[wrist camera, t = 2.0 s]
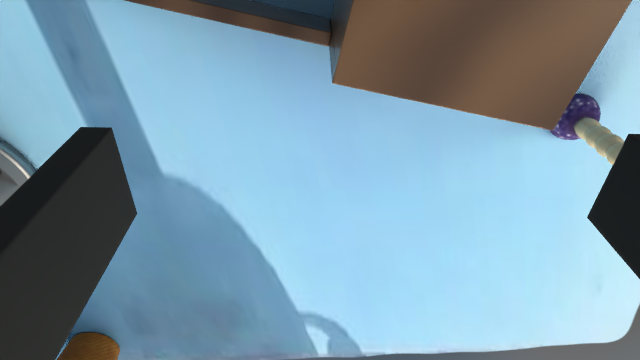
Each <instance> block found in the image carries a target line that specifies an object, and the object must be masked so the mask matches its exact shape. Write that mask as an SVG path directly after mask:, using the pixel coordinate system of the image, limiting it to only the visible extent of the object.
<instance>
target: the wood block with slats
mask: <svg viewBox="0 0 640 360" xmlns="http://www.w3.org/2000/svg"><path fill="white" fill-rule="evenodd" d="M125 1H129V2H134V3H138V4H143V5H147V6H151V7H156V8H160V9H165V10H169V11H174V12H178V13H182V14H187V15H191V16H196V17H200V18H204V19H209V20H213V21H218V22H222V23H227V24H231V25H235V26H240V27H244V28H249V29H253V30H258V31H262V32H266V33H271V34H275V35H280V36H284V37H289V38H293V39H297V40H302V41H306V42H311V43H315V44H319V45H324V46H329V50H330V61H331V73H332V83H333V84H338V85H342V86H347V87H352V88H356V89H361V90H366V91H370V92H375V93H380V94H384V95H389V96H394V97H398V98H403V99H408V100H412V101H417V102H422V103H426V104H431V105H436V106H440V107H445V108H450V109H454V110H459V111H464V112H468V113H473V114H478V115H482V116H487V117H492V118H496V119H501V120H506V121H510V122H515V123H520V124H524V125H529V126H534V127H538V128H543V129H548V130H553V129H554V128H555V126H556V124H557V123H558V121H559V120H560V118H561V116H562V115H563V113H564V111H565V110H566V108H567V106H568V105H569V103H570V101H571V100H572V98H573V96H574V95H575V93H576V92H577V90H578V88H579V87H580V85H581V83H582V82H583V80H584V78H585V77H586V75H587V73H588V72H589V70H590V69H591V67H592V65H593V64H594V62H595V60H596V59H597V57H598V55H599V54H600V52H601V50H602V49H603V47H604V46H605V44H606V42H607V41H608V39H609V37H610V36H611V34H612V32H613V31H614V29H615V27H616V26H617V24H618V23H619V21H620V19H621V18H622V16H623V14H624V13H625V11H626V9H627V8H628V6H629V4H630V3H631V1H632V0H335V2H334V6H333V11H332V15H331V20H330V19H328V18H323V17H319V16H315V15H311V14H306V13H302V12H298V11H294V10H289V9H285V8H281V7H277V6H272V5H268V4H264V3H260V2H255V1H251V0H125Z"/></svg>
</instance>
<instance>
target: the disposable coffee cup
mask: <svg viewBox="0 0 640 360" xmlns="http://www.w3.org/2000/svg"><path fill="white" fill-rule="evenodd" d="M119 352H120V349H119V346H118V344H117V343H116V342H115V341H114V340H112V339H111V338H109V337H107V336H105V335H102V334H98V333H91V332H85V333H80V334H77V335H75V336H74V337H73V338H72V339H71V341H70V342H69V343H68V345H67V346H66V348H65V349H64V350H63V352H62V353H61V354H60V356H59V357H58V359H57V360H117V359H118V355H119Z"/></svg>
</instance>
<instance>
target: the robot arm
mask: <svg viewBox="0 0 640 360" xmlns="http://www.w3.org/2000/svg"><path fill="white" fill-rule="evenodd" d="M136 215H137V212H136V208H135V205H134V202H133V198H132V195H131V191H130V188H129V185H128V181H127V178H126V174H125V171H124V168H123V164H122V161H121V158H120V154H119V151H118V147H117V144H116V141H115V137H114V134H113V130H112V128H100V127H80V128H79V129H78V130H77V131H76V132H75V133H74V134H73V135H72V136H71V137H70V138H69V139H68V140H67V141H66V142H65V143H64V144H63V145H62V146H61V147H60V148H59V149H58V150H57V151H56V152H55V153H54V154H53V155H52V156H51V157H50V158H49V159H48V160H47V161H46V162H45V163H44V164H43V165H42V166H41V167H40V168H39V169H38V170H36V169H35V168H34V167H33V166H32V164H31V163H30V162H29V161H28V160H27V159H26V158H25V157H24V156H23V155H22V154H21V153H19V152H18V151H17V150H16V149H15V148H13V147H12V146H11V145H9V144H8V143H6V142H5V141H3V140H2V139H0V360H55V359H56V357H57V355H58V354H59V352H60V350H61V348H62V347H63V345H64V343H65V341H66V339H67V338H68V336H69V334H70V332H71V330H72V329H73V327H74V325H75V323H76V322H77V320H78V318H79V316H80V314H81V313H82V311H83V309H84V307H85V306H86V304H87V302H88V300H89V298H90V297H91V295H92V293H93V291H94V289H95V288H96V286H97V284H98V282H99V281H100V279H101V277H102V275H103V273H104V272H105V270H106V268H107V266H108V265H109V263H110V261H111V259H112V257H113V256H114V254H115V252H116V250H117V248H118V247H119V245H120V243H121V241H122V240H123V238H124V236H125V234H126V232H127V231H128V229H129V227H130V225H131V224H132V222H133V220H134V218H135V216H136ZM587 218H588V219H589V220H590V221H591V222H592V224H593V225H594V226H595V227H596V228H597V229H598V231H599V232H600V233H601V234H602V235H603V237H604V238H605V239H606V240H607V241H608V242H609V244H610V245H611V246H612V247H613V248H614V249H615V251H616V252H617V253H618V254H619V255H620V256H621V258H622V259H623V260H624V261H625V262H626V263H627V265H628V266H629V267H630V268H631V269H632V271H633V272H634V273H635V274H636V275H637V276H638V278H639V279H640V134H628V136H627V138H626V140H625V142H624V144H623V146H622V148H621V150H620V152H619V154H618V156H617V158H616V160H615V162H614V164H613V166H612V168H611V170H610V172H609V174H608V176H607V178H606V180H605V182H604V184H603V186H602V188H601V190H600V192H599V194H598V196H597V198H596V200H595V202H594V204H593V206H592V209H591V211H590V213H589V215H588V217H587Z"/></svg>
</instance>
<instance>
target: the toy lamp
mask: <svg viewBox="0 0 640 360" xmlns="http://www.w3.org/2000/svg"><path fill="white" fill-rule="evenodd" d="M600 114H601V113H600V108H599V105H598V103H597V102H596V101H595V100H594V99H593V98H592V97H591V96H588V95H586V94H575V95H574V96H573V98H572V100H571V101H570V103H569V105H568V106H567V108H566V110H565V111H564V113H563V115H562V116H561V118H560V120H559V121H558V123H557V124H556V126H555V128H554V129H553V130H550V132H551V133H552V134H553V135H555V136H556V137H558V138H561V139H565V140H575V139H580V138H582V139H584V140H585V141H586V142H587V144H588V145H590V146H591V147H593V148H595V149H596V151H597V152H598V153H599V154H600V155H601V156H603V157H606V158H607V160H608V161H609V162H610V163H611V164H612V165H613V164H614V162H615V160H616V158H617V156H618V154H619V152H620V150H621V148H622V146H623V144H624V141H623V140H622V139H621V138H620V137H619V136H617V135H614V134H612V133H611V131H610V130H609V129H607V128H606V127H603V126H601V125H600V123H599V120H600Z"/></svg>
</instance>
